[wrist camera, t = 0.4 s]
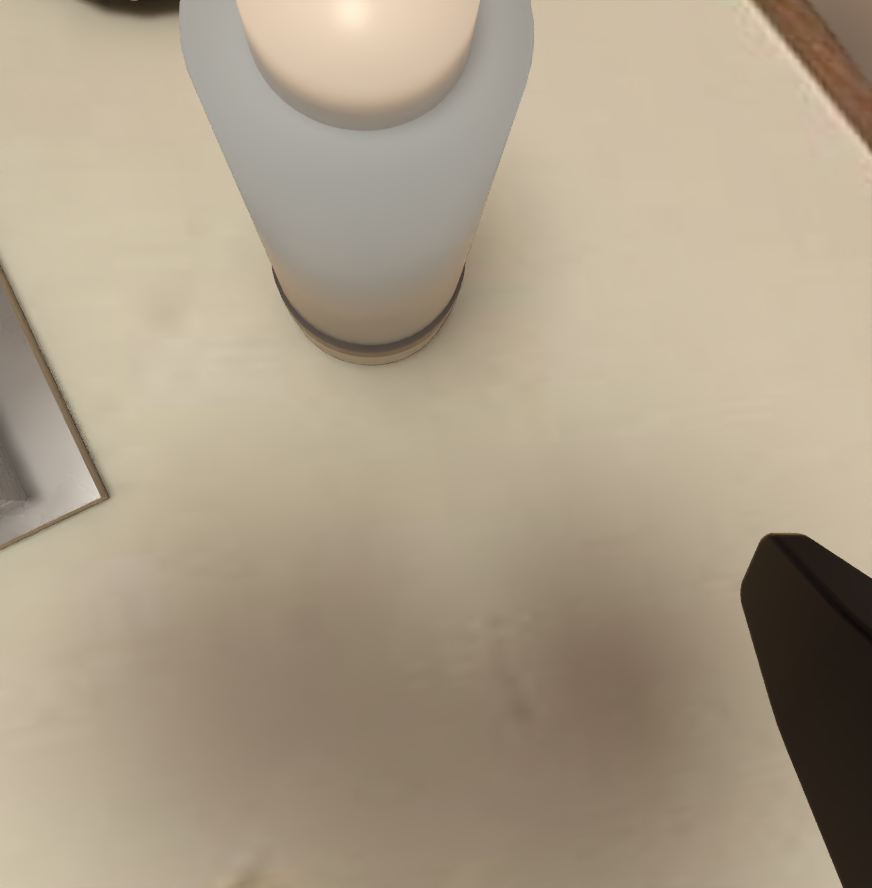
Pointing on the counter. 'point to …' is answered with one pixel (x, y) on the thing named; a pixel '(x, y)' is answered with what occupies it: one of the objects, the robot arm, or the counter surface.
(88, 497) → the gray base
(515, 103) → the bottle
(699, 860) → the counter surface
